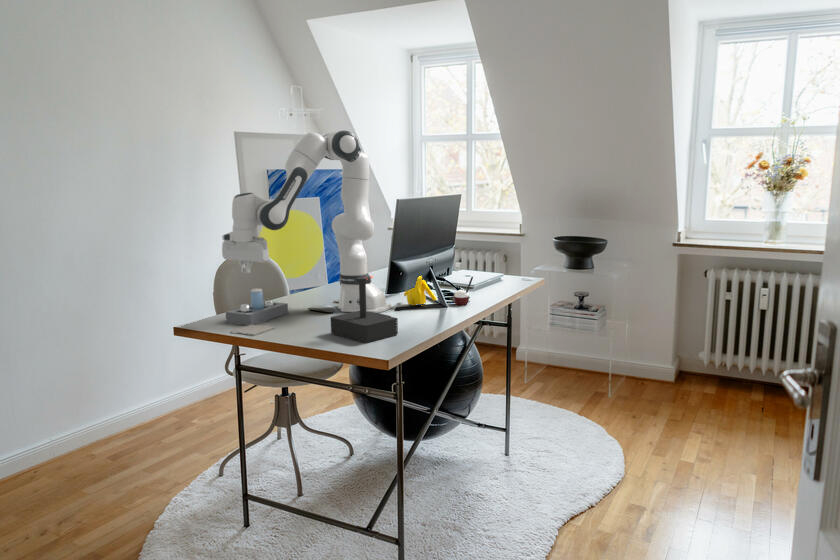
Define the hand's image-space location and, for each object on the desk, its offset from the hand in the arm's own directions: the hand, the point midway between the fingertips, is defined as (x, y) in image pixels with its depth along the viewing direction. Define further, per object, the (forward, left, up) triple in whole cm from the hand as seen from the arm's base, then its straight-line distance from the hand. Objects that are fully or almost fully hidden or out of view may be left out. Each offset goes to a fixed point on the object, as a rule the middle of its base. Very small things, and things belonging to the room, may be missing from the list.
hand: (246, 272), depth 240 cm
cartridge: (-1, -4, -18) cm, 19 cm away
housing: (-1, -4, -18) cm, 19 cm away
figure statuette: (-48, -49, -19) cm, 71 cm away
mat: (-13, +13, -18) cm, 26 cm away
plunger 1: (-1, +3, -16) cm, 17 cm away
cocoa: (-65, -57, -19) cm, 89 cm away
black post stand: (-53, +1, -19) cm, 56 cm away
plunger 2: (-1, -11, -18) cm, 21 cm away
